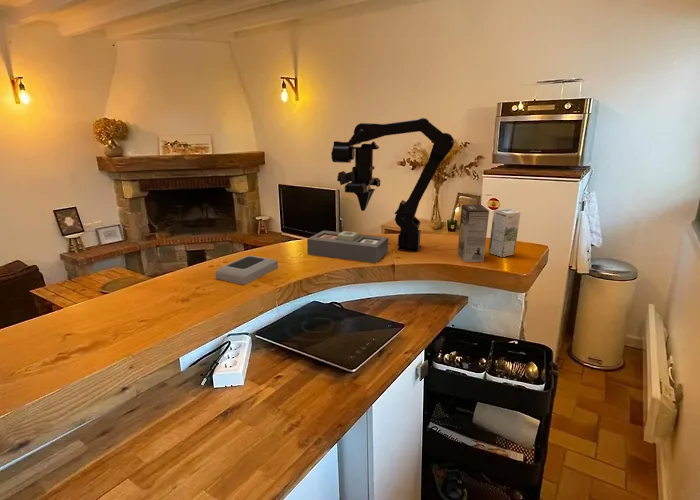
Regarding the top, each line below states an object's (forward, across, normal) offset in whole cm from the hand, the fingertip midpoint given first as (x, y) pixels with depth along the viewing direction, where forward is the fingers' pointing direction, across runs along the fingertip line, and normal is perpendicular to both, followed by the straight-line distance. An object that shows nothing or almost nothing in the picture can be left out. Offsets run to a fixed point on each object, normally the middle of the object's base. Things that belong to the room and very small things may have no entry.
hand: (363, 210), depth 141 cm
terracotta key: (+10, +11, -8) cm, 17 cm away
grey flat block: (+13, +39, -20) cm, 45 cm away
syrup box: (+12, -7, +45) cm, 47 cm away
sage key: (+9, +11, -1) cm, 14 cm away
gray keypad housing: (+12, +11, -1) cm, 16 cm away
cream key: (+10, +11, +6) cm, 16 cm away
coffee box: (+12, 0, +36) cm, 38 cm away
